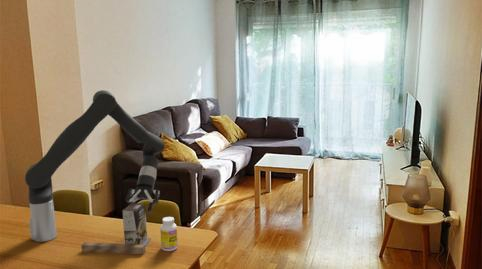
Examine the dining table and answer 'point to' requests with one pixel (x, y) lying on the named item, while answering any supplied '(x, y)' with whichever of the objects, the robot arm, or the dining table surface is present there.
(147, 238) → the end mat
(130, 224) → the coffee box
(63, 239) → the dining table surface
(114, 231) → the dining table surface
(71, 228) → the dining table surface
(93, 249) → the walnut fence
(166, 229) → the supplement bottle
